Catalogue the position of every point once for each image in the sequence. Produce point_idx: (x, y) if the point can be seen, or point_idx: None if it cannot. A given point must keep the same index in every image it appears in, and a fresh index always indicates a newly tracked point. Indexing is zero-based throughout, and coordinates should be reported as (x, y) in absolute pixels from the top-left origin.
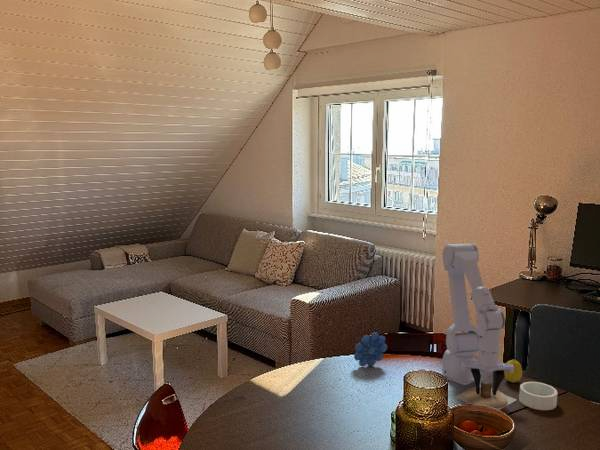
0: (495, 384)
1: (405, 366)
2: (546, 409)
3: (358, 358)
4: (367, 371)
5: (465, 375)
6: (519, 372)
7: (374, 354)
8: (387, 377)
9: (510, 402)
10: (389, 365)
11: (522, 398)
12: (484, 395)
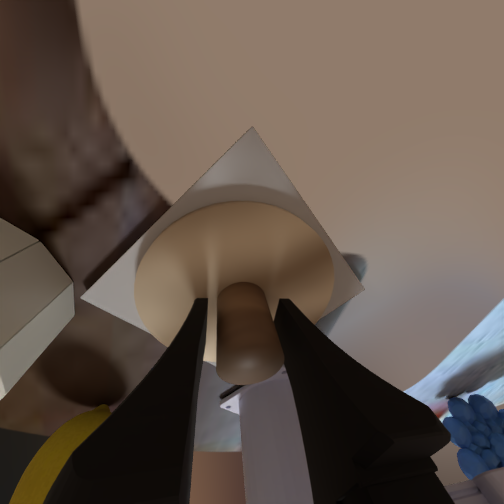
0: (196, 354)
1: None
2: None
3: None
4: (475, 380)
5: (281, 409)
6: (28, 479)
7: (484, 436)
8: (456, 366)
9: (119, 267)
10: None
11: (23, 285)
12: (256, 291)
